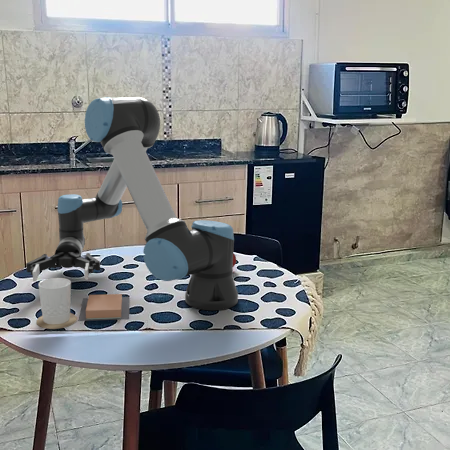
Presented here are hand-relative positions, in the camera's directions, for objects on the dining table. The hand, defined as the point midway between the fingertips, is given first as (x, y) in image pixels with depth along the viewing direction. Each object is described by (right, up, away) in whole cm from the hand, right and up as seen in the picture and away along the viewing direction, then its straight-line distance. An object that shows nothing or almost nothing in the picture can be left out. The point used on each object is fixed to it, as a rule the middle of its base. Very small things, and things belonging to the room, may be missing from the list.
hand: (60, 275), depth 159 cm
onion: (+45, -2, +36) cm, 58 cm away
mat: (+12, -9, +1) cm, 15 cm away
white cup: (+1, -11, -7) cm, 13 cm away
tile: (+11, -7, +4) cm, 14 cm away
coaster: (+1, -11, -7) cm, 14 cm away
